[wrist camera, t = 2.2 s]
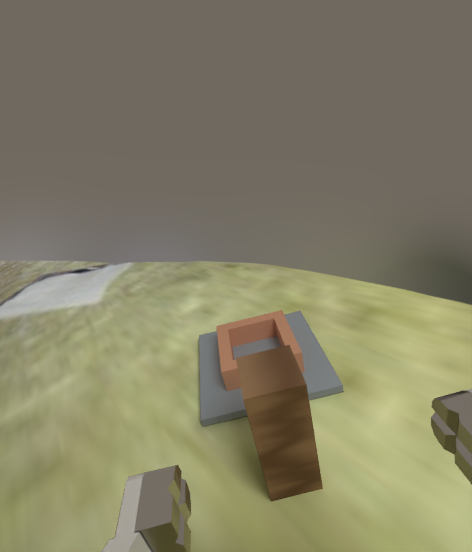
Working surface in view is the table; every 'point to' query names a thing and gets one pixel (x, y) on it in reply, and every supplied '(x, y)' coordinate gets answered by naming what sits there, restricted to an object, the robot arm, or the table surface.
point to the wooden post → (280, 421)
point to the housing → (252, 339)
